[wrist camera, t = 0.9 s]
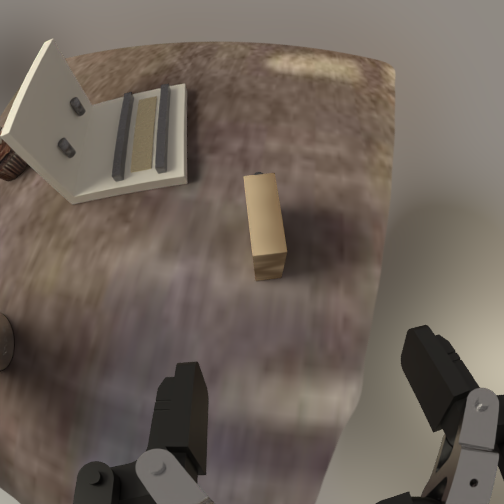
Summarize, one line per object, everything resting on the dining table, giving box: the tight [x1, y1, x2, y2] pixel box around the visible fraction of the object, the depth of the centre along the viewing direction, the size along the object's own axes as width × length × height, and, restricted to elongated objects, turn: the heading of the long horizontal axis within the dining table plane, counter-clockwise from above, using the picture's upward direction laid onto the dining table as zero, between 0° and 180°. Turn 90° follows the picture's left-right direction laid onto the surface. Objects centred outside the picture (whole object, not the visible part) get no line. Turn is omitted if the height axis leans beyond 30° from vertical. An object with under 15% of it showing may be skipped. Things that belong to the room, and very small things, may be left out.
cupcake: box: [0, 126, 27, 181], centre depth 40 cm, size 10×10×10 cm
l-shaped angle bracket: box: [0, 39, 187, 205], centre depth 36 cm, size 18×18×18 cm
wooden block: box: [243, 172, 287, 281], centre depth 34 cm, size 3×9×10 cm, turn 6°
